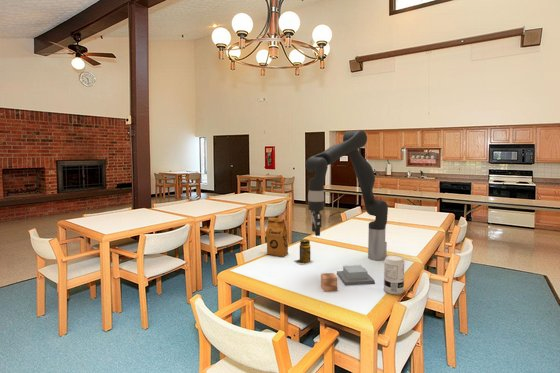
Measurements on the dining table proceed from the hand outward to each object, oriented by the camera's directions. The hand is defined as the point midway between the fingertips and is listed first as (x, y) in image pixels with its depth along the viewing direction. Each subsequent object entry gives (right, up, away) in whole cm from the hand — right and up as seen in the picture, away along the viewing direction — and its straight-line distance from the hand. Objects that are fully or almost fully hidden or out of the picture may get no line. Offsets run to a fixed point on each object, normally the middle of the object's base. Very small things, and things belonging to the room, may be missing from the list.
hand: (315, 233), depth 160 cm
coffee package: (-18, -18, +40) cm, 48 cm away
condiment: (-4, -20, +27) cm, 33 cm away
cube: (+5, -23, -9) cm, 26 cm away
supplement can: (+32, -24, -13) cm, 42 cm away
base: (+19, -22, +1) cm, 29 cm away
